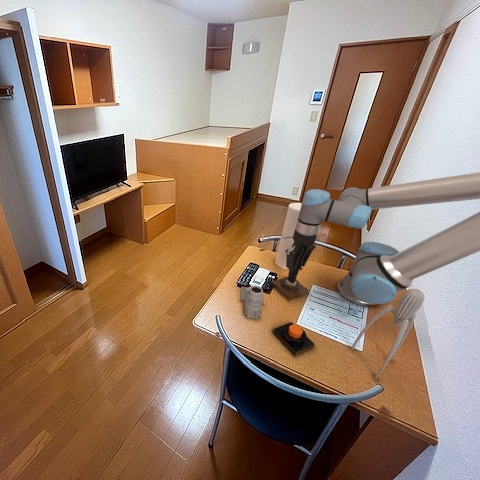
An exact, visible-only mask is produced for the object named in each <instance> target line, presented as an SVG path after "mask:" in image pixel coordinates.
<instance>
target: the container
mask: <svg viewBox="0 0 480 480" xmlns="http://www.w3.org/2000/svg"><path fill="white" fill-rule="evenodd" d="M301 205H302V202H291V203H290V204H288V207H287V211H286V216H285V220H284V225H283V227H282V231H281V236H280V240H279V244H278V248H277V253H276V256H275V260H274V263H275V265H276V266H277V267H279V268H281V269H284V270H289V269H288V268H287V267H286V258H287V254H286V249H288V250H290V249H291V248H292V245H293V243H294V241H293V234H294V231H295V228H296V224H297V221H298V216H299V213H300V209H301Z"/></svg>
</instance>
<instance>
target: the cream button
mask: <svg viewBox="0 0 480 480" xmlns="http://www.w3.org/2000/svg"><path fill="white" fill-rule="evenodd" d="M285 283H286V284H287V285H290V286H296V281H295V283H291V282H290V281H289V280H287V279H286V282H285Z"/></svg>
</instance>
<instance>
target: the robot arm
mask: <svg viewBox="0 0 480 480" xmlns="http://www.w3.org/2000/svg"><path fill="white" fill-rule="evenodd" d="M473 200H474V201H475V200H480V172H472V173H466V174H459V175H453V176H452V175H451V176H445V177H439V178H438V177H437V178H431V179H426V180H425V179H424V180H418V181H412V182H411V181H410V182H405V183H397V184H391V185H384V186H377V187H370V188H358V187H349V188H346V189H344V191H342V192H341V193H340V195H339V196H338V199H337V200H336V199H332V198H331V193H329V191H327V190H323V189H318V188H317V189H316V188H315V189H309V190H306V192H304V196H303V199H302V202H301V203H302V205H301V209H300V213H299V216H298V221H297V224H296V228H295V231H294V234H293V241H294V243H293V245H292V248H291V249H290V250H288V249H286V254H287V258H286V267H287V268H288V269H287V270H288V275H287V277H288V278H287V280H289V281H290V282H291V283H295V281H296V280H297V277H298V275H299V272H300V271H303V268H304V267H305V266H306V265H307V263H308V261H309V258H310V257H311V255H312V252H313V251H314V250H315V248H316V247H317V246H316V245H315V242H316V239H317V237H318V234H319V231H320V228H321V225H322V221H323V222H328V223H331V224H332V223H333V224H336V225H340V226H344V227H348V228H354V229H363V228H365V227H366V226H367V223H368V221H369V218H370V216H371V212H372V210H381V209H382V210H383V209H392V208H403V207H411V206H421V205H432V204H443V203H453V202H455V203H456V202H464V201H473ZM479 252H480V211H478V212H476V213H474V214H472V215H470V216H468V217H465V218H464V219H463V220H460V221H459V222H457V223H454V224H453V225H450V226H448V227H447V228H445V229H443V230H441V231H438V232H436V233H435V234H433V235H430V236H428V237H427V238H425V239H423V240H421V241H419V242H417V243H415V244H413V245H411V246H409V247H407V248H405V249H402V250H401V251H399V250H398V249H397V248H395V247H393V246H391V245H389V244H386V243H382V242H377V241H364V242H362V243H361V244H360V246H359V247H358V251H357V253H356V255H355V258H354V259H353V262H352V264H351V266H350V268H349V271H348V273H346V275H345V276H343V277H342V278H341V279H340V280H339V281H338V282H337V285H336V290H337V292H338V293H339V295H341V296H342V297H343V298H344V299H345V300H347V301H349V302H351V303H352V304H355V305H358V306H361V307H366V308H374V307H378V306H380V305H384V304H389V303H391V302H392V301H393V300H395V299H396V297H397V295H398V292H400V291H403V290H405V289H407V288H410V287H412V285H413V280H415V279H417V278H421V277H422V276H424V275H427V274H429V273H432V272H435V271H436V270H438V269H441V268H443V267H446V266H448V265H451V264H453V263H456V262H458V261H460V260H462V259H465V258H467V257H470V256H472V255H474V254H477V253H479ZM302 267H303V268H302Z"/></svg>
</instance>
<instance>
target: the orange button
mask: <svg viewBox="0 0 480 480" xmlns="http://www.w3.org/2000/svg"><path fill="white" fill-rule="evenodd" d="M301 328H302V327H301V326H300V325H297V324H294V325H291V326H290V327H289V330H288V333H289V335H290V336H291V337H294V338H300V337H301V335H302V333H303V330H304V329H303V328H302V329H303V330H302V329H301Z"/></svg>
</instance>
